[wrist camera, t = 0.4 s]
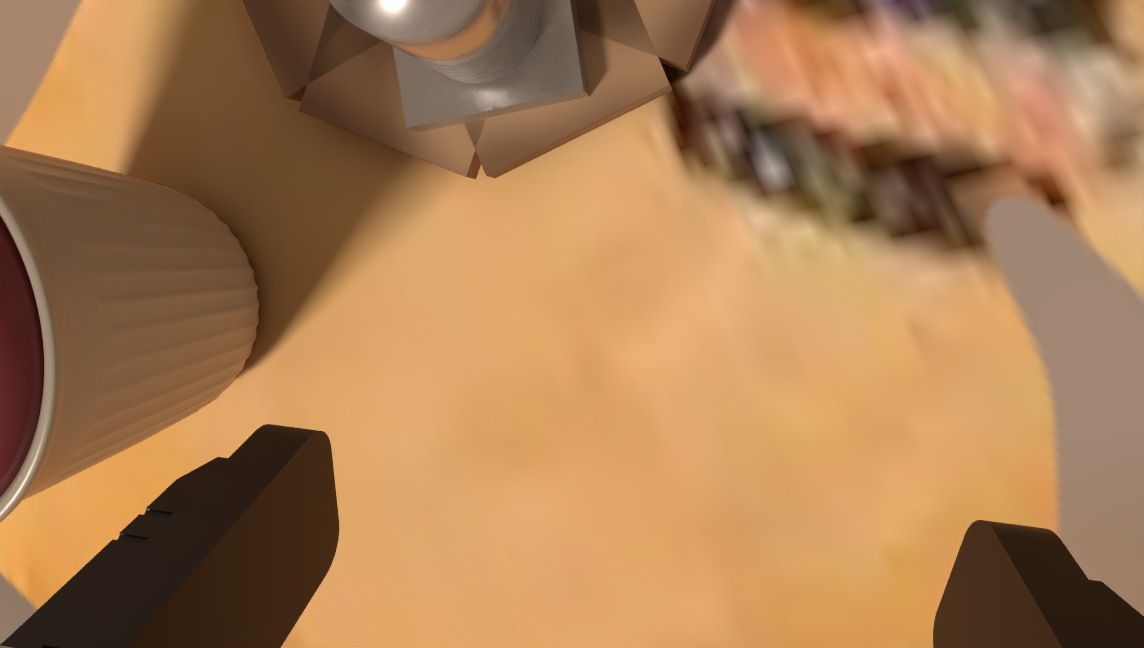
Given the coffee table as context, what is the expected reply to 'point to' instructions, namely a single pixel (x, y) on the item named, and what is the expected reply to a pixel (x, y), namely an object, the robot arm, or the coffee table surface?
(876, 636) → the coffee table surface
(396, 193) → the coffee table surface
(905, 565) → the coffee table surface
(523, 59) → the silver post on plate
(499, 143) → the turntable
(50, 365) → the canister
